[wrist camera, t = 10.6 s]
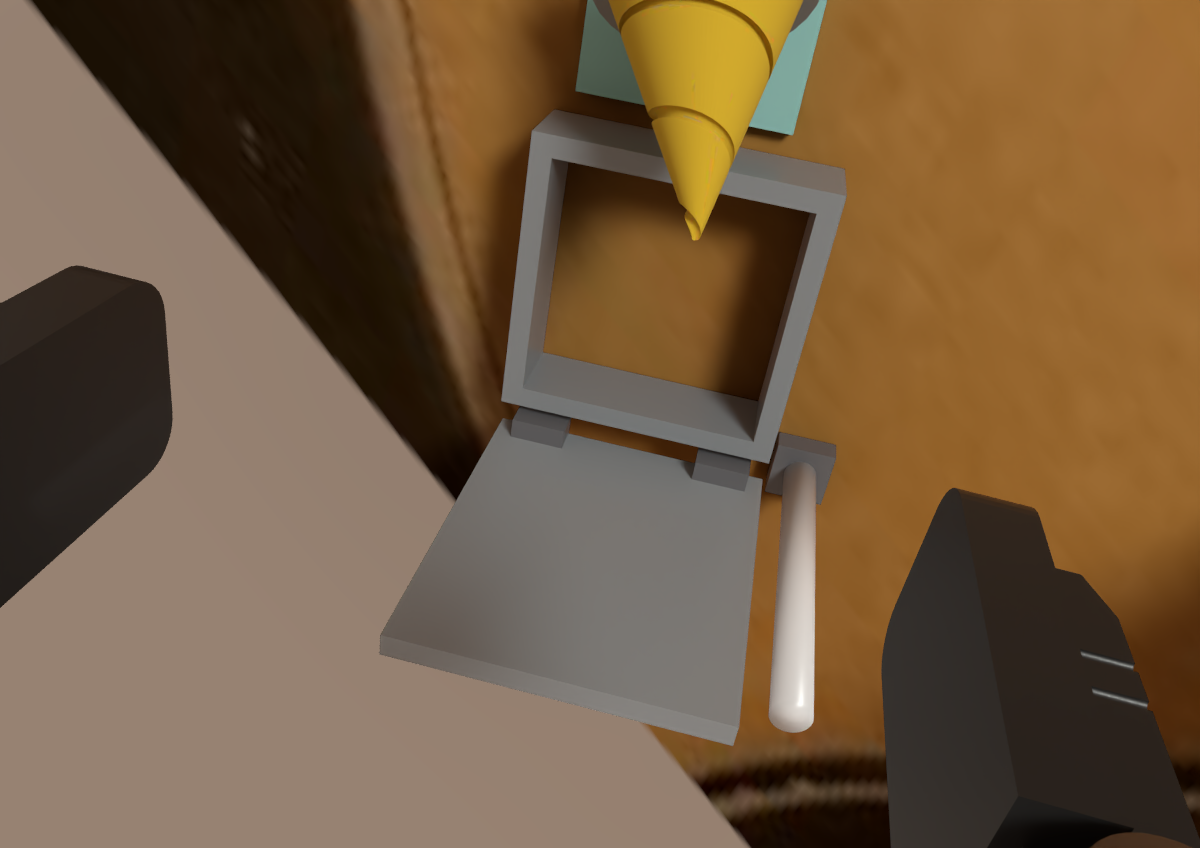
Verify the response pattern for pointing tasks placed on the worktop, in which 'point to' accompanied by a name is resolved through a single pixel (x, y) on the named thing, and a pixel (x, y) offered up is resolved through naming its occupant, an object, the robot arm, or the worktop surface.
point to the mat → (614, 78)
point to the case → (630, 494)
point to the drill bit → (702, 80)
